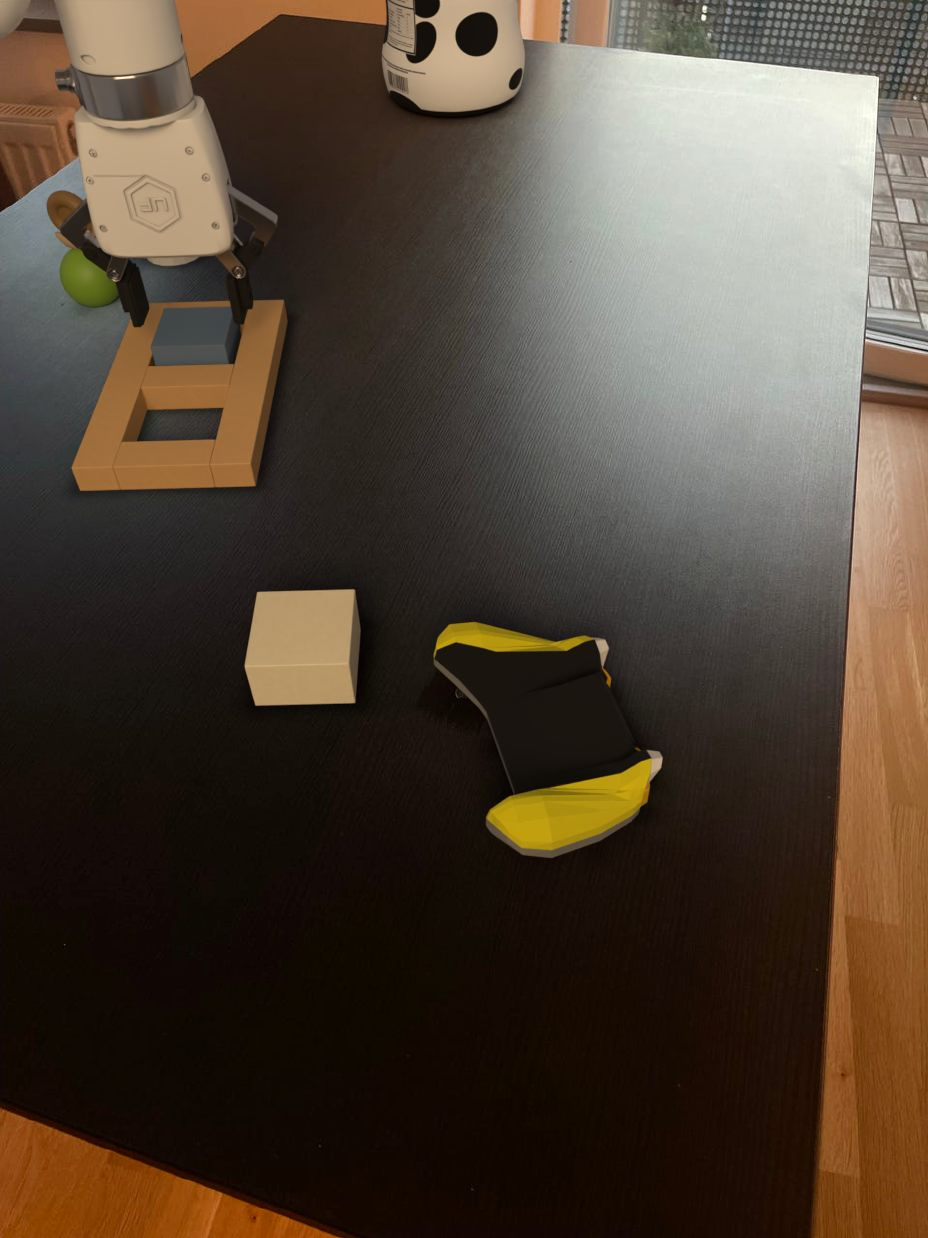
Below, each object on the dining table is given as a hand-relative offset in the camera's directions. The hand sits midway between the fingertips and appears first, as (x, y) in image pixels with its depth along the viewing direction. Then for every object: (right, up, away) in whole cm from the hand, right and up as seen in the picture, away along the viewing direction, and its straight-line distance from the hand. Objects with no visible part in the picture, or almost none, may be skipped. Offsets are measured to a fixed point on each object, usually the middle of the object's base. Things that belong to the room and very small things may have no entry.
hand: (191, 316), depth 81 cm
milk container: (+21, +40, +43) cm, 62 cm away
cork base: (0, -7, 0) cm, 7 cm away
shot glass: (-6, +11, +17) cm, 21 cm away
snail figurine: (-11, +4, +11) cm, 16 cm away
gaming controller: (+27, -33, -24) cm, 49 cm away
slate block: (0, -3, +4) cm, 5 cm away
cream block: (+13, -28, -20) cm, 36 cm away
